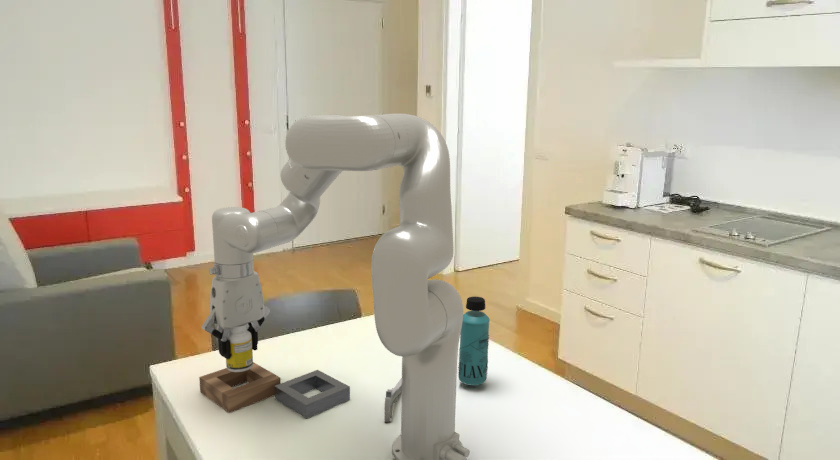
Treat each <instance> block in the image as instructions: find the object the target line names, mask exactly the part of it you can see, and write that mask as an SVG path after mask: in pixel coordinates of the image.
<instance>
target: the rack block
mask: <svg viewBox="0 0 840 460" xmlns="http://www.w3.org/2000/svg"><path fill="white" fill-rule="evenodd" d="M198 379H199V392H200V394H202V395H203V396H205V397H206V398H207V399H209V400H210V401H212V402H214V403H215V404H216V405H217V406H219V407H220V408H222V409H223V410H224V411H226V412H227V413H229V414H230V413H233V412H235V411H238V410H241V409H243V408H245V407H249V406H250V405H254V404H256V403H259V402H261V401H264V400H266V399H268V398H271V397H275V390H274V386H276V385H278V384H281V383H282V381H281V380H282V379H281V377H280V376H279V375H276V374H275V373H273V372H271V371H270V370H268V369H267V368H264V367H262V365H259V364H257V363H256V362H254V361H253V366H252V368H250V369H249V370H246V371H243V372H231V371H229V370H228V369H227V367H225V368H223V369H219V370H217V371H213V372H210V373H207V374H205V375H201V376H199V377H198ZM244 383H245V384H244ZM238 385H239V386H238Z"/></svg>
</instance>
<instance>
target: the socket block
mask: <svg viewBox="0 0 840 460" xmlns="http://www.w3.org/2000/svg"><path fill="white" fill-rule="evenodd" d="M274 390H275V395H274V400H275V401H277V402H279V403H280V404H282V405H283V406H285V407H286V408H288V409H289V410H291V411H293V412H295V413H296V414H297V415H300V416H301V417H303V418H304V419H306V420H307V419H310V418H311V417H314V416H316V415H318V414H322V413H323V412H325V411H327V410H330V409H332V408H335V407H337V406H339V405H341V404H345V403H346V402H348V401H350V400H351V386H350V385H348V384H346V383H344V382H342V381H340V380H338V379H336V378H334V377H333V376H330V375H328V374H327V373H325V372H322V371H321V370H319V369H316V370H313V371H311V372H308V373H306V374H303V375H300V376H297V377H295V378H291V379H289V380H287V381H284V382H281V384H278V385H276V386H274ZM313 390H318V391H319V393H317V394H314V395H312V396H310V397H308V396H306V395H304V394H306V393H308V392H310V391H313Z"/></svg>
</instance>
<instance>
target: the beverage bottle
mask: <svg viewBox="0 0 840 460" xmlns="http://www.w3.org/2000/svg"><path fill="white" fill-rule="evenodd" d="M465 309H467V310H468V311H466V312H465V313H463V321H462V327H461V333H460V338H459V349H458V357H457V360H458V362H457V366H458V369H457V372H458V374H457V376H458V379H459V381H460V382H461V383H462V384H465V385H469V386H479V385H482V384H484V383H486V381H487V379H488V371H489V367H488V364H489V359H488V358H489V356H488V355H489V345H490V334H489V331H490V320H491V319H490V318H489V316H488V315H487V314H486V313H485V312H483V311H484V310H485V309H486V299H485V298H484V297H482V296H469V297H467V299H466V303H465Z"/></svg>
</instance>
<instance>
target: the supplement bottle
mask: <svg viewBox="0 0 840 460" xmlns="http://www.w3.org/2000/svg"><path fill="white" fill-rule="evenodd" d="M247 329H248V325H247V324H244V325H240V326H237V327H233V328H230V330H229V334H228V338H227V339H228V340H230V348H231V358H230V359H226V358H225V365H226V368H227V369H228V370H229V371H231V372H243V371H246V370H249V369H250V368H252V366H253V362H254V356H253V350H252V336H251V333H250V332H249V331H247Z"/></svg>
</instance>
